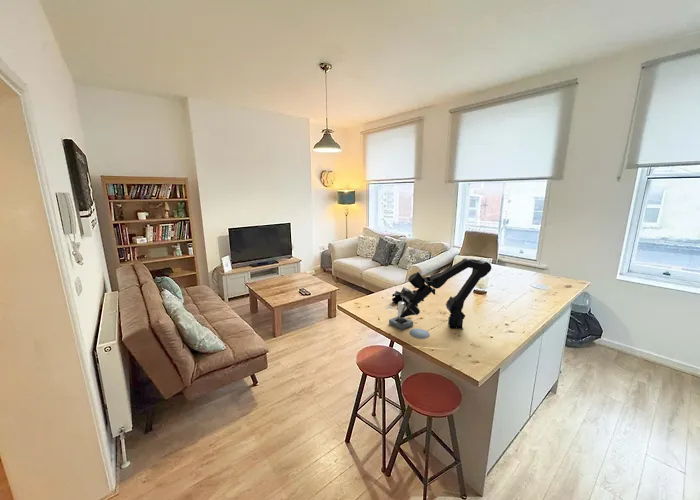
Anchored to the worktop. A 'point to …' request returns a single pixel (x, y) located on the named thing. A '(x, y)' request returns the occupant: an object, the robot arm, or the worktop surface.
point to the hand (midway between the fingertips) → (398, 313)
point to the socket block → (398, 325)
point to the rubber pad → (419, 333)
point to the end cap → (397, 297)
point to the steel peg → (401, 311)
